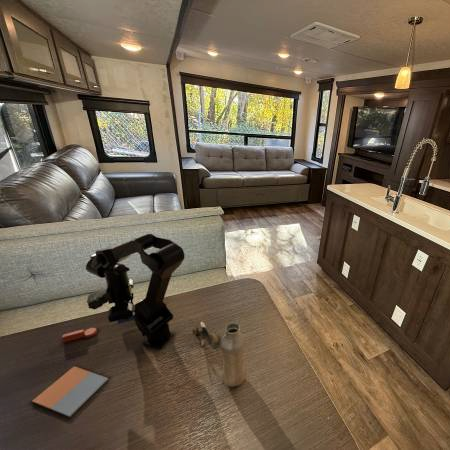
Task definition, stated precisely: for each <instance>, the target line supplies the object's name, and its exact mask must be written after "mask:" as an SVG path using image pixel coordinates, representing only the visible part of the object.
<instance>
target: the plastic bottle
mask: <svg viewBox="0 0 450 450" xmlns="http://www.w3.org/2000/svg"><path fill="white" fill-rule="evenodd" d="M224 329H225V331H224V335H223V336H222V338H220V345H219V346H220V347H219V348H220V351H221V354H222V360H223V365H222V371H221V378H222V381H223V384H225V385H226V386H227V387H233V388H234V387H238V386H239V385H241V384H243V382H244V380H245V378H246V373H247V371H246V366H245V363H244V353H245V347H246V339H245V337H244V335H243V334H242V333H241V326H240V325H239V323H237V322H231V323H229V324H227V325H226V326H225V328H224Z"/></svg>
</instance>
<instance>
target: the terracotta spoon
mask: <svg viewBox="0 0 450 450" xmlns="http://www.w3.org/2000/svg"><path fill="white" fill-rule="evenodd" d="M97 333H98V331H97V328H96V327H89V328H87V329H86V330H85V329H84V328H83V329H80V330H75V331H72V332H68V333H64V334H62V337H61V339H62V341H63V343H68V342H71V341H75V340H78V339H82V338H87V339H88V338H92V337H94V336H95V335H97Z"/></svg>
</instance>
